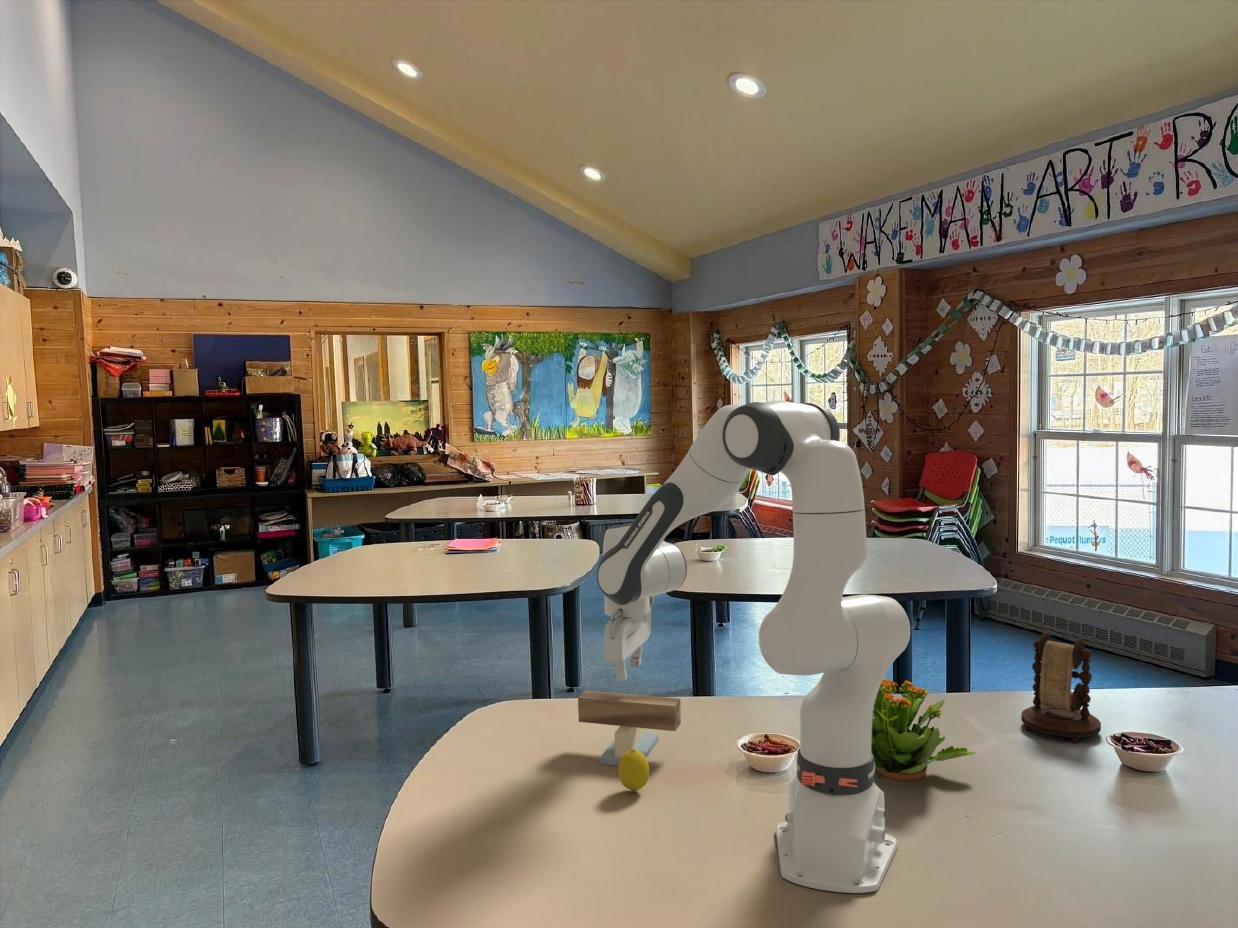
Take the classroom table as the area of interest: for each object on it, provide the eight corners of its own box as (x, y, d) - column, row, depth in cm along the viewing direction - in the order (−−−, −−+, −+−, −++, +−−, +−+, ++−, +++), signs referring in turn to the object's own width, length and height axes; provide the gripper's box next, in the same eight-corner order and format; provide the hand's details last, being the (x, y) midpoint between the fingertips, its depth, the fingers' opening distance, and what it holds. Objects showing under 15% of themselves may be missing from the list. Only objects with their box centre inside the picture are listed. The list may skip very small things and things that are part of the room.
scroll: (1008, 730, 186) (1010, 636, 185) (1039, 711, 196) (1040, 622, 195) (1083, 750, 176) (1086, 650, 174) (1111, 730, 185) (1114, 635, 184)
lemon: (613, 795, 161) (612, 751, 160) (627, 782, 166) (626, 740, 165) (641, 801, 158) (640, 757, 158) (654, 788, 163) (654, 745, 163)
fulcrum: (639, 767, 172) (638, 737, 172) (600, 763, 175) (599, 733, 174) (658, 740, 185) (658, 711, 185) (621, 736, 188) (621, 708, 187)
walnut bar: (675, 731, 174) (674, 706, 174) (578, 721, 180) (577, 697, 180) (680, 722, 179) (680, 698, 178) (586, 714, 185) (585, 690, 184)
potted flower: (977, 757, 173) (978, 669, 172) (969, 811, 152) (970, 710, 150) (846, 739, 184) (846, 655, 182) (821, 786, 162) (821, 692, 161)
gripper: (626, 617, 166) (629, 690, 167) (655, 594, 186) (657, 659, 187) (594, 615, 168) (597, 688, 169) (626, 593, 188) (628, 658, 189)
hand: (629, 672), depth 178 cm, fingers open, 8 cm apart
